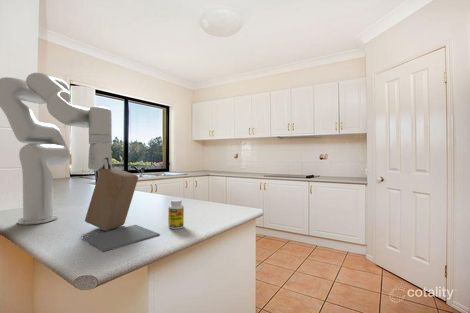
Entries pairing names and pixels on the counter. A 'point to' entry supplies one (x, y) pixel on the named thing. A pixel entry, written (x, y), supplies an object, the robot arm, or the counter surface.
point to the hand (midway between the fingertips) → (100, 188)
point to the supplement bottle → (176, 214)
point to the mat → (119, 237)
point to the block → (111, 198)
